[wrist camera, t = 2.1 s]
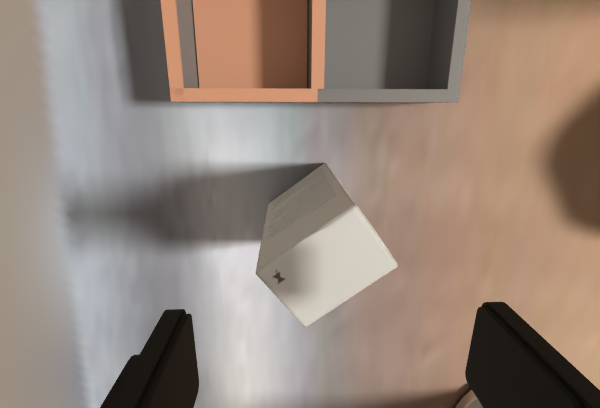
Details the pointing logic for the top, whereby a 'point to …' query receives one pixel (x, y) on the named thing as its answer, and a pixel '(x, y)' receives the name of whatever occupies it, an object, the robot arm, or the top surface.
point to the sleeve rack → (315, 50)
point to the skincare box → (319, 247)
